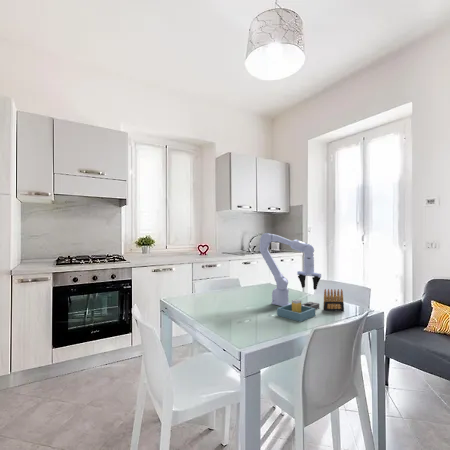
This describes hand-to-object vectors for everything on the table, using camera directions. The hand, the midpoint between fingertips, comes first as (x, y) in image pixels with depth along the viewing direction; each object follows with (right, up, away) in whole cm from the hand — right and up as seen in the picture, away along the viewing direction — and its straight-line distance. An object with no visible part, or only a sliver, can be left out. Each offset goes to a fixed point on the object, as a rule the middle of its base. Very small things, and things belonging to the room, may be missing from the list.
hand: (309, 288), depth 169 cm
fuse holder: (-2, -10, -6) cm, 12 cm away
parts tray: (-12, -10, -18) cm, 24 cm away
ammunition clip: (+11, -11, -9) cm, 18 cm away
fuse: (-12, -9, -18) cm, 23 cm away
